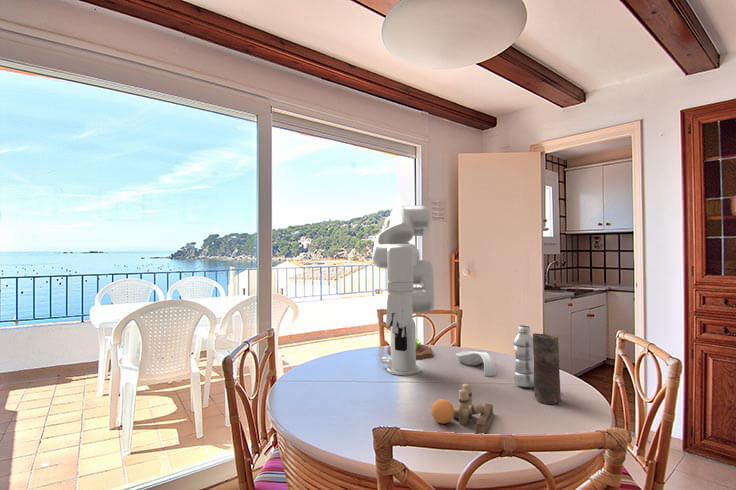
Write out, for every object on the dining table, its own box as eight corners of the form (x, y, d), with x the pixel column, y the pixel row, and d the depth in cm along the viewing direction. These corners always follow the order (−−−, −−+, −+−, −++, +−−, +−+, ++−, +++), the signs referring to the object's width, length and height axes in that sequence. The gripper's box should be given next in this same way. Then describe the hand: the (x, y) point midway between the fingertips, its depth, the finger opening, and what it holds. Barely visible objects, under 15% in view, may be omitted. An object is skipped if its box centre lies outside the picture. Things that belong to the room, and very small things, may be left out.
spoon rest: (452, 360, 167) (451, 342, 167) (478, 358, 169) (478, 341, 169) (476, 378, 143) (476, 358, 143) (506, 376, 145) (506, 356, 145)
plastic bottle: (537, 390, 130) (536, 328, 130) (515, 389, 131) (514, 328, 131) (533, 383, 136) (532, 324, 136) (512, 382, 137) (511, 324, 138)
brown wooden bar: (476, 433, 100) (476, 423, 100) (485, 412, 113) (485, 403, 113) (484, 434, 99) (484, 424, 99) (492, 413, 112) (492, 404, 112)
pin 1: (462, 417, 110) (461, 386, 110) (464, 413, 112) (463, 383, 112) (471, 418, 109) (470, 387, 109) (473, 415, 111) (472, 384, 111)
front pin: (449, 410, 109) (480, 405, 105) (451, 406, 111) (481, 401, 107) (453, 419, 108) (483, 414, 105) (455, 415, 111) (484, 410, 107)
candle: (529, 395, 125) (528, 331, 125) (551, 395, 126) (550, 331, 126) (542, 405, 117) (541, 337, 118) (565, 404, 118) (564, 336, 118)
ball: (443, 431, 106) (425, 415, 108) (455, 413, 109) (437, 398, 111) (448, 425, 102) (429, 409, 104) (460, 406, 105) (441, 391, 107)
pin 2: (458, 424, 105) (457, 392, 105) (460, 420, 108) (459, 389, 108) (467, 426, 104) (467, 393, 104) (469, 422, 106) (469, 390, 107)
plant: (393, 362, 166) (392, 334, 166) (384, 350, 185) (383, 325, 185) (439, 359, 169) (439, 332, 169) (425, 348, 188) (425, 324, 188)
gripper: (397, 284, 125) (398, 342, 125) (378, 289, 111) (379, 355, 112) (420, 285, 122) (421, 345, 122) (403, 291, 108) (404, 358, 108)
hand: (401, 349), depth 117 cm, fingers closed
